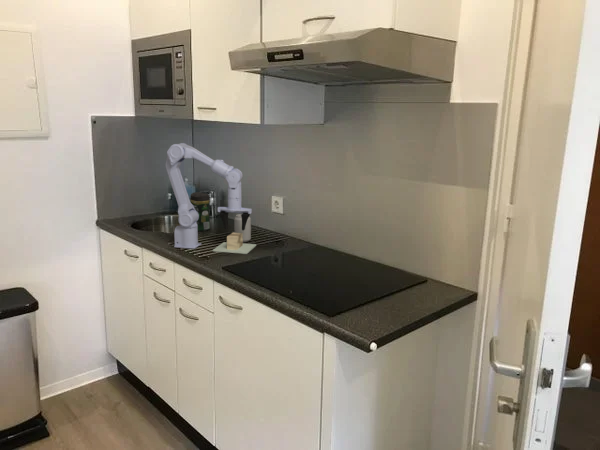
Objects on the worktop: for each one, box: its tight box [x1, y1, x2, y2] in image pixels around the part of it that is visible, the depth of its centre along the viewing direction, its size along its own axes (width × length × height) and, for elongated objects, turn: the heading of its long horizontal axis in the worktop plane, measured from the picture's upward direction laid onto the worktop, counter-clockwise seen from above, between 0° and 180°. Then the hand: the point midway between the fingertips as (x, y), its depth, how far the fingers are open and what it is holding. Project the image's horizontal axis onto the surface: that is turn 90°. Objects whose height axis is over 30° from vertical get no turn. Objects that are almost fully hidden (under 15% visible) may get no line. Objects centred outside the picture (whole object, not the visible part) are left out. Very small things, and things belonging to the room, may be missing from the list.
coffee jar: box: [189, 191, 211, 232], centre depth 241 cm, size 10×8×19 cm
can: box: [233, 213, 252, 243], centre depth 221 cm, size 8×8×12 cm
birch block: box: [226, 232, 244, 250], centre depth 208 cm, size 8×4×6 cm, turn 169°
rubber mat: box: [212, 241, 257, 255], centre depth 209 cm, size 15×14×1 cm
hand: (234, 229), depth 207 cm, fingers open, 7 cm apart
